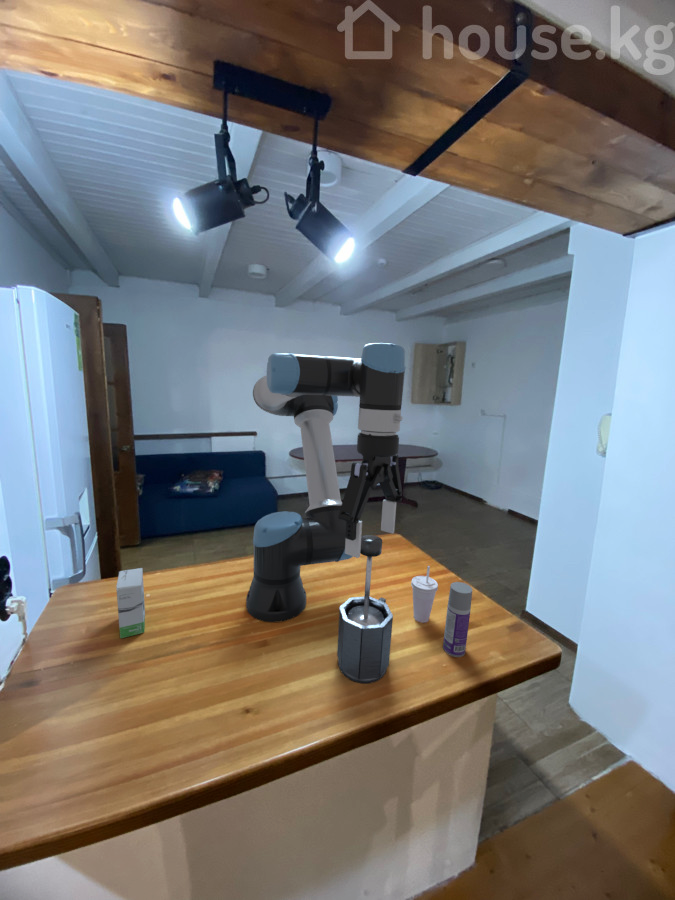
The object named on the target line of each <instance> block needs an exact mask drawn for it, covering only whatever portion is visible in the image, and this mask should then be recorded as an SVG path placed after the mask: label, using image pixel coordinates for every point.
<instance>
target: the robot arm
mask: <svg viewBox="0 0 675 900" xmlns="http://www.w3.org/2000/svg"><path fill="white" fill-rule="evenodd" d="M405 359H406V351H405V348H404V347H403V346H402V345H401V344H397V343H387V342H385V343H384V342H371V343H367V344H365V345H364V346H363V348H362V352H361V356H360V358H356V357H355V358H354V357H342V356H328V355H327V356H326V355H312V354H300V353H299V354H298V353H291V352H283V353H282V352H281V353H279V352H273V353H271V354H270V355H269V357H268V359H267V364H266V375H264V376H262V377H261V378H259V379H257V381H256V382H255V384H254V385H253V388H252V398H253V400H254V403H255V404H256V405H257V407H259V409H260V410H262V411H263V412H265V413H268V414H271V415H274V416H280V417H293V420H294V423H295V425H296V426H297V427H299V429H300V434H301V435H300V436H301V444H302V452H303V460H304V470H305V478H306V485H307V486H306V487H307V494H308V503H309V506H308V508H307V509H306V510H305V512H304V518H303V517H302V516H301V514H300V513H298V512H295V511H287V510H286V511H285V510H283V511H276V512H271V513H268V514H266V515H264V516H262V517H261V518H260V519H258V520H257V522H256V523H255V525H254V528H253V529H254V530H253V538H252V544H253V578H252V580H251V583H250V586H249V590H248V592H247V594H246V599H245V601H246V602H245V603H246V605H245V606H246V607H245V608H246V611H247V612H248V614H249V615H250V616H251V617H253V618H254V619H256V620H259V621H262V622H265V623H266V622H267V623H278V622H279V623H280V622H286V621H289V620H292V619H294V618H296V617H298V616H299V615H301V614H302V612H303V611H304V609H305V608H306V607H307V593H306V590H305V587H304V584H303V579H302V577H301V567H303V566H309V565H316V564H317V565H318V564H326V563H333V562H335V563H338V562H340V561H346V560H350V559H352V558H353V557H354V558H356V559H358V558H360V557H361V554H360V550H361V536H362V533H363V532H362V529H363V520H361V517H362V515H363V513H364V510H365V507H366V505H367V502H368V500H369V499H370V496H371V493H372V491H373V490H375V489H376V487H377V485H379V487H380V489H381V490H382V494H383V495H384V498H385V499H383V500H382V509H381V524H380V531H382V532H386V533H387V534H388V533H390V534H392V535H393V534H394V533H395V525H396V515H397V513H396V512H397V503H398V502H399V503H400V502H402V499H403V497H402V496H403V488H402V481H401V480H402V479H401V475H400V467H399V454H398V453H399V445H400V436H399V434H397V433H398V432H399V431H400V429H401V422H402V421H403V416H402V415H401V414H402V405H403V395H404V383H405V373H406V365H405V364H406V363H405V362H406V360H405ZM338 397H354V398H355V397H356V398H358V397H359V404H358V405H359V406H358V407H359V408H358V419H357V420H358V421H357V422H358V423H357V429H358V430H359V432H358V433H357V441H356V451H357V453H358V454H360V455H361V456H362V460H361V463H358V462H352V463H351V467H350V476H349V479H348V483H347V486H346V489H345V492H344V496H343V499H342V498H341V493H340V486H339V485H340V484H339V480H338V472H337V467H336V459H335V453H334V445H333V439H332V433H331V427H330V424H331V422H332V421H333V420H334V416H336V414H337V411H338V407H339V403H338V401H339V398H338Z"/></svg>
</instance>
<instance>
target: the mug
mask: <svg viewBox="0 0 675 900" xmlns="http://www.w3.org/2000/svg"><path fill="white" fill-rule="evenodd" d="M386 600H387V599H386V598H384V597H382V596H381V597H379V598H378V599H377V598H374V597H372V596H370V597H369V606H371V607H374V608H376V609H378V610H379V611H380V612H381V613H382V614H383V617H384V621H383V622H382V623H381V624H379V625H367V626H362V625H360V624H358V623H356V622H354V621H351V620H349V619H348V612H349V610H350V609H352V608H353V607H356V606H361V605H364V596H355V597H354V596H353V597H349V598H348V599H347V600H346V601H345V602H343V603H342V604H341V605H339V612H338V613H339V614H338V632H337V646H336V647H337V648H336V649H337V650H336V651H337V653H336V657H337V659H338V660H337V664H338V669H339V671H340V673H341V674H342V675H343V676H344V677H345V678H346V679H348V680H349V681H352V682H354V683H357V684H362V685H363V684H367V685H368V684H373V683H376V682H378V681H380V680H382V678H384V676H385V674H386V673H387V670H388V667H389V666H390V657H391V644H392V643H391V642H392V632H393V619H394V615H393V613H392V611H391V609H390V607H389V605H388V604H387V603H386V602H387V601H386Z"/></svg>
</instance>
